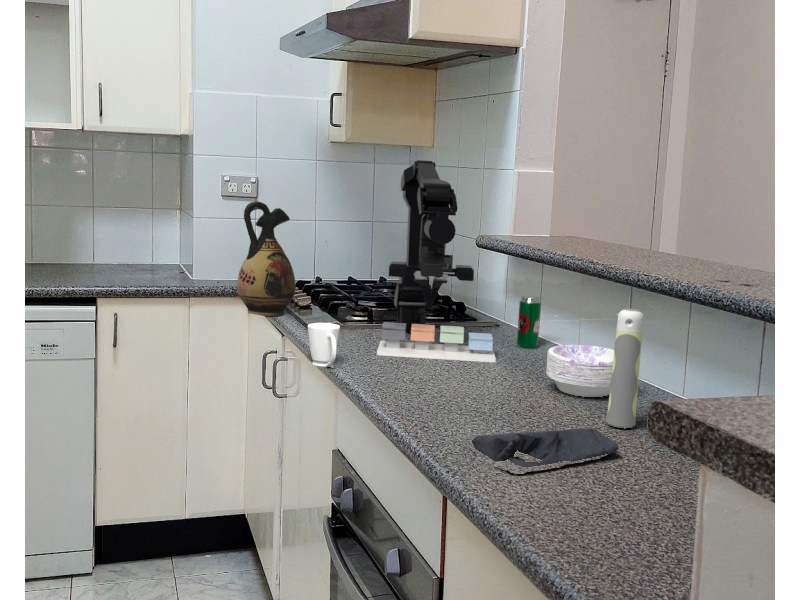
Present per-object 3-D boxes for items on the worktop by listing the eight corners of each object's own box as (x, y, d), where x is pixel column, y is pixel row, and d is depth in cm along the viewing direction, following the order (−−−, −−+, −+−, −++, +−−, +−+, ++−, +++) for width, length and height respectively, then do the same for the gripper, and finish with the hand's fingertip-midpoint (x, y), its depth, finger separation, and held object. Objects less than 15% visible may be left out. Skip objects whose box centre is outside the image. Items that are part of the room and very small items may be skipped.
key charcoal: (381, 338, 195) (382, 326, 194) (382, 334, 200) (383, 322, 200) (404, 339, 195) (405, 327, 194) (405, 335, 200) (406, 323, 199)
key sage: (439, 342, 194) (440, 329, 194) (439, 337, 199) (440, 325, 199) (463, 343, 194) (464, 331, 194) (462, 338, 199) (463, 326, 199)
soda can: (537, 349, 207) (541, 299, 205) (515, 347, 208) (519, 298, 206) (538, 345, 212) (541, 296, 210) (517, 343, 213) (520, 295, 211)
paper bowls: (576, 405, 160) (579, 363, 158) (529, 384, 173) (532, 345, 172) (641, 399, 166) (645, 359, 165) (591, 380, 180) (595, 342, 178)
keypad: (376, 355, 192) (377, 338, 191) (380, 344, 204) (381, 328, 203) (495, 362, 191) (496, 345, 190) (492, 350, 203) (493, 334, 202)
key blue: (468, 349, 194) (469, 336, 194) (467, 344, 199) (468, 332, 199) (492, 350, 194) (493, 338, 194) (490, 345, 199) (491, 333, 199)
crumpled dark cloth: (633, 466, 130) (636, 435, 129) (505, 481, 120) (508, 448, 120) (573, 434, 143) (575, 406, 143) (454, 446, 134) (456, 416, 133)
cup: (332, 359, 186) (333, 322, 185) (349, 370, 177) (351, 331, 176) (300, 361, 183) (302, 323, 182) (317, 372, 174) (318, 332, 173)
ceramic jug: (284, 308, 246) (287, 200, 241) (302, 318, 232) (306, 204, 227) (224, 309, 238) (226, 199, 234) (239, 319, 224) (242, 202, 220)
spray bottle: (603, 427, 146) (614, 310, 143) (607, 420, 151) (618, 306, 148) (633, 432, 145) (645, 313, 142) (636, 424, 149) (647, 309, 146)
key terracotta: (410, 340, 195) (411, 327, 194) (411, 335, 200) (412, 323, 199) (433, 341, 194) (434, 329, 194) (434, 337, 200) (434, 325, 199)
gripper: (389, 241, 186) (386, 313, 188) (477, 245, 185) (472, 318, 188) (391, 236, 197) (387, 304, 199) (474, 240, 196) (469, 309, 199)
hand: (428, 309), depth 196 cm, fingers closed
